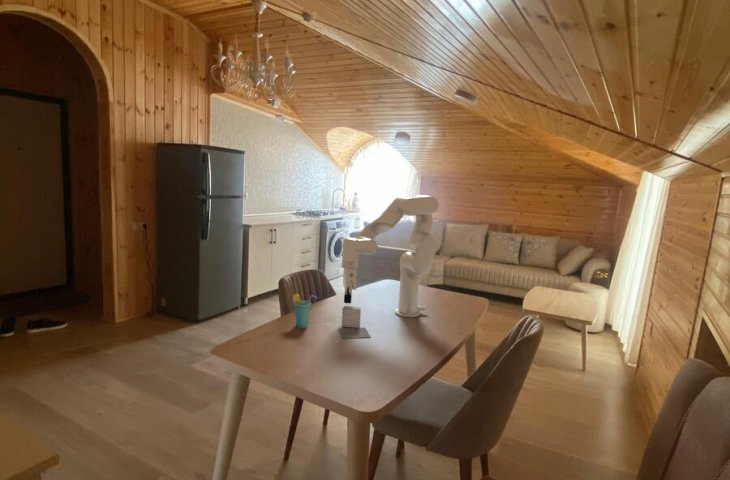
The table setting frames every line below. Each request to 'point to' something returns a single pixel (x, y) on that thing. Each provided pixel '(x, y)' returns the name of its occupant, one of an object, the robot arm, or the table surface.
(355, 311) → the medicine box
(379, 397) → the table surface
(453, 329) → the table surface
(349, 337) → the mat
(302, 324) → the cup
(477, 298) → the table surface
